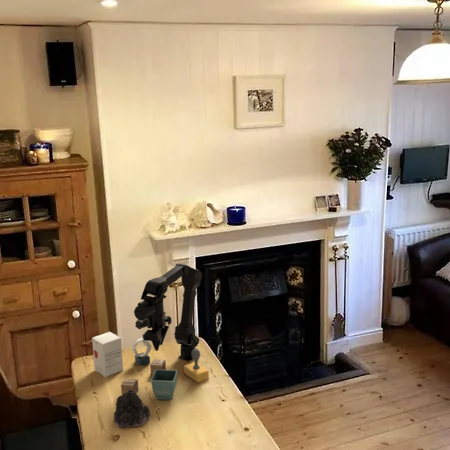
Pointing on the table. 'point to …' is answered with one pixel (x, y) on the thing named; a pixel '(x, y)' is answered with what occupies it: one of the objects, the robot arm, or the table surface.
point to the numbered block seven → (157, 365)
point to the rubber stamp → (196, 368)
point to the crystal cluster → (130, 411)
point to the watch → (142, 357)
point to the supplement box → (107, 354)
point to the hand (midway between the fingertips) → (158, 347)
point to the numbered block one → (129, 385)
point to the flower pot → (164, 383)
